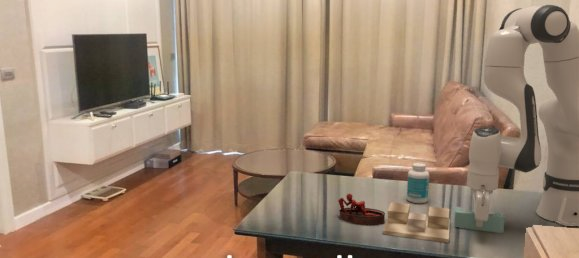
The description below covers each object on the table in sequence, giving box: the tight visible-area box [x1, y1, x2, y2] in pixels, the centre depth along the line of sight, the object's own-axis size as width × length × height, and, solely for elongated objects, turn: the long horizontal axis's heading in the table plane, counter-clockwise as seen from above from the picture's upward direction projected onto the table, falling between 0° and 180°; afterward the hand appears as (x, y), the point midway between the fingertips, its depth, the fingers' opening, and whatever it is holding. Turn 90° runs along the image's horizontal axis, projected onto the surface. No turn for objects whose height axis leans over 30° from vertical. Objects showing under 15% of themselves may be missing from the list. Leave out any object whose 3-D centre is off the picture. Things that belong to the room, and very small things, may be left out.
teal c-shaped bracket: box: [454, 206, 506, 234], centre depth 153 cm, size 14×12×5 cm
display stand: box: [382, 201, 451, 244], centre depth 149 cm, size 19×16×5 cm
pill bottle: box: [406, 162, 430, 204], centre depth 173 cm, size 8×7×14 cm
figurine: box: [338, 193, 386, 226], centre depth 157 cm, size 15×10×10 cm, turn 81°
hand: (478, 223), depth 149 cm, fingers closed on teal c-shaped bracket
